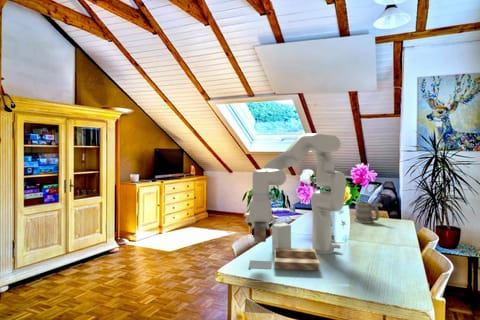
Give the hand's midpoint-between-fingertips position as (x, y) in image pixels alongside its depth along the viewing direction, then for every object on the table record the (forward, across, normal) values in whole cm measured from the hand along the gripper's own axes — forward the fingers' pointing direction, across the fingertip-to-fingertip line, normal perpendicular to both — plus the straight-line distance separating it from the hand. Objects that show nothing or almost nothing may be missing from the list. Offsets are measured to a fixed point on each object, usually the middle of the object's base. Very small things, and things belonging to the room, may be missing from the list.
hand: (260, 236), depth 150 cm
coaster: (+13, 0, 0) cm, 13 cm away
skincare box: (+14, -10, -20) cm, 26 cm away
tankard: (+13, -75, -100) cm, 126 cm away
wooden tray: (+13, -16, -2) cm, 21 cm away
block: (+1, 0, 0) cm, 1 cm away
